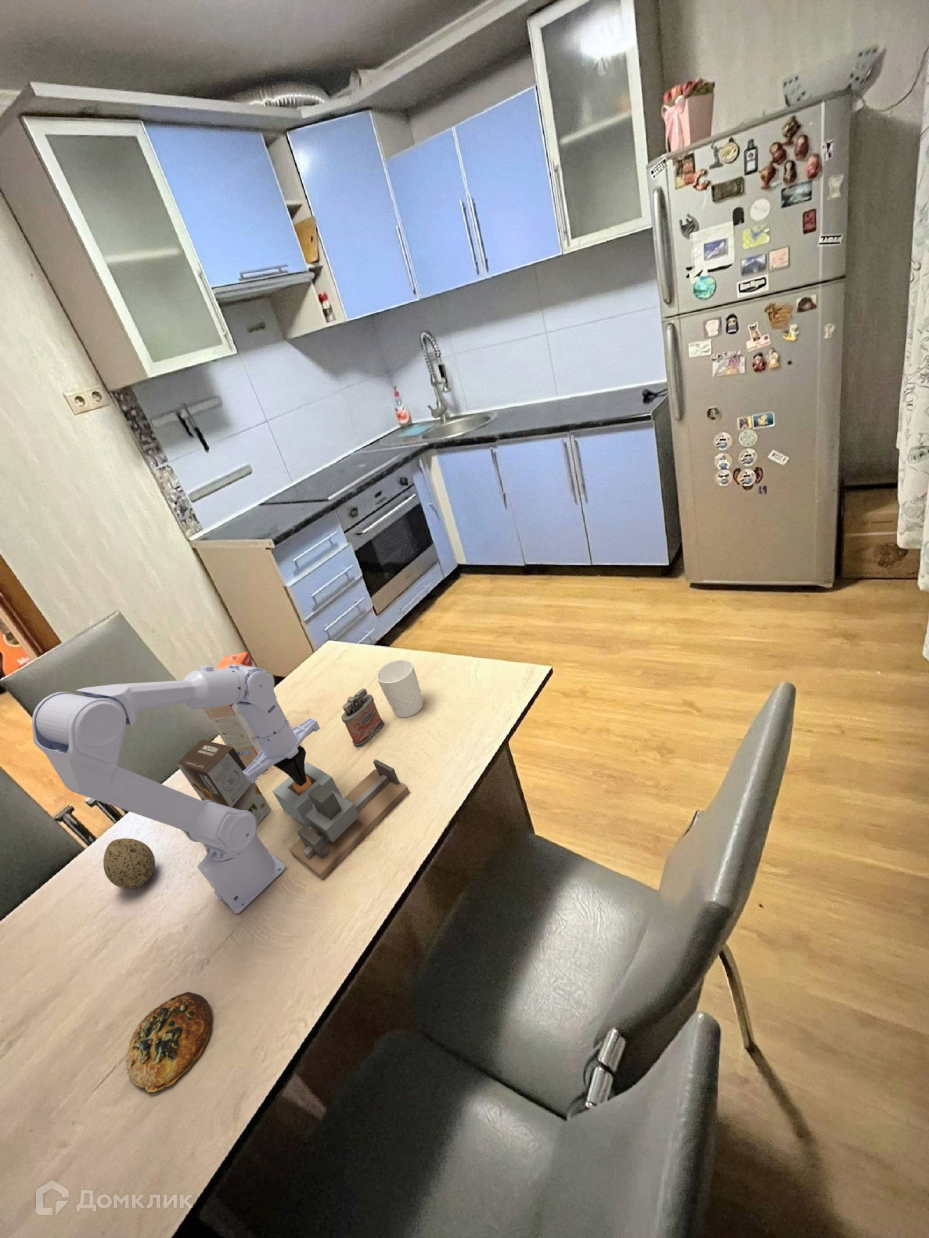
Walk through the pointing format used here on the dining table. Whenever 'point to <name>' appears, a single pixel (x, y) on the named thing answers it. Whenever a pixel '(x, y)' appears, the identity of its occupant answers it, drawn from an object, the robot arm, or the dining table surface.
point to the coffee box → (222, 778)
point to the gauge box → (302, 803)
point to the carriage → (330, 813)
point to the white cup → (401, 687)
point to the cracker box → (235, 718)
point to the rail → (372, 805)
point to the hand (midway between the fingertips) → (301, 782)
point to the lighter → (361, 718)
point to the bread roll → (168, 1041)
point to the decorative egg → (128, 863)
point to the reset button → (302, 788)
